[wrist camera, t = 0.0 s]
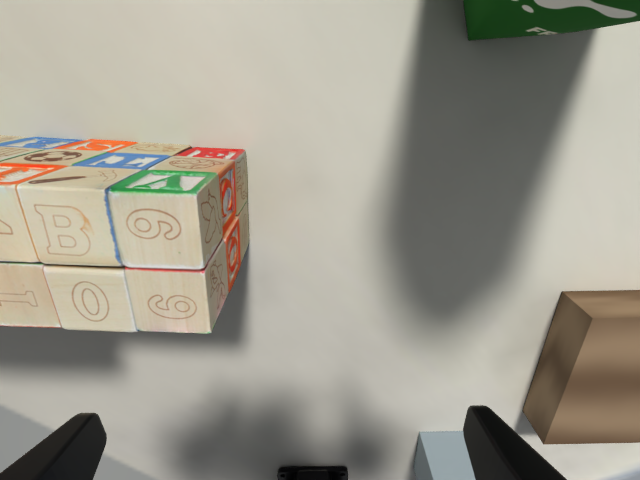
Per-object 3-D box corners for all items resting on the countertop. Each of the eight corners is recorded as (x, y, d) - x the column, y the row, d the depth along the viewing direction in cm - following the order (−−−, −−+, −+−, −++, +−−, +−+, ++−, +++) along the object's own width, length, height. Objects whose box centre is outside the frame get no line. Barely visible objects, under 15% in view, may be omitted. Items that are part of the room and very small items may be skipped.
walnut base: (663, 407, 30) (698, 441, 27) (522, 410, 30) (543, 444, 27) (731, 288, 25) (783, 314, 22) (562, 291, 25) (592, 318, 22)
